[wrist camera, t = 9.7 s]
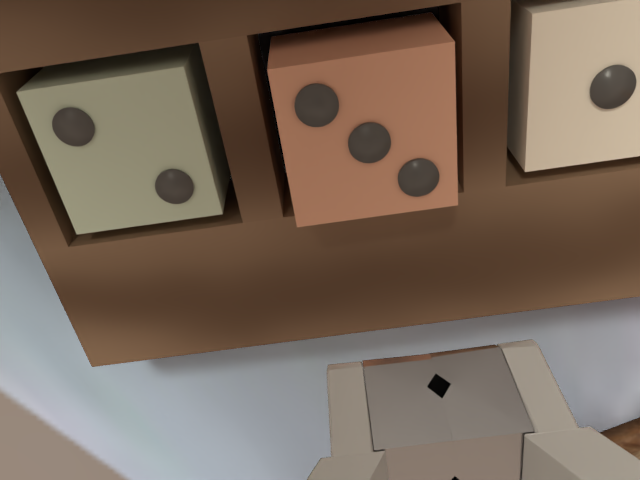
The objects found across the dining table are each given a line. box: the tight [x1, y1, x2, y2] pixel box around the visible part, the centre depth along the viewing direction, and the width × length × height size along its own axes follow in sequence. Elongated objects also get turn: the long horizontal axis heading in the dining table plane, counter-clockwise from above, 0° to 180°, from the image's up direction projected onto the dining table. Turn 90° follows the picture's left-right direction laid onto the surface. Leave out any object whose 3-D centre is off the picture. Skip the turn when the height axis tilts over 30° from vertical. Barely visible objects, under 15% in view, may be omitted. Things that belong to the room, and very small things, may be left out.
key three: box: [267, 12, 458, 227], centre depth 17 cm, size 4×4×3 cm
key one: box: [507, 0, 640, 172], centre depth 18 cm, size 4×4×3 cm
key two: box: [16, 43, 231, 234], centre depth 18 cm, size 4×4×3 cm
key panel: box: [0, 0, 640, 367], centre depth 18 cm, size 16×21×3 cm
